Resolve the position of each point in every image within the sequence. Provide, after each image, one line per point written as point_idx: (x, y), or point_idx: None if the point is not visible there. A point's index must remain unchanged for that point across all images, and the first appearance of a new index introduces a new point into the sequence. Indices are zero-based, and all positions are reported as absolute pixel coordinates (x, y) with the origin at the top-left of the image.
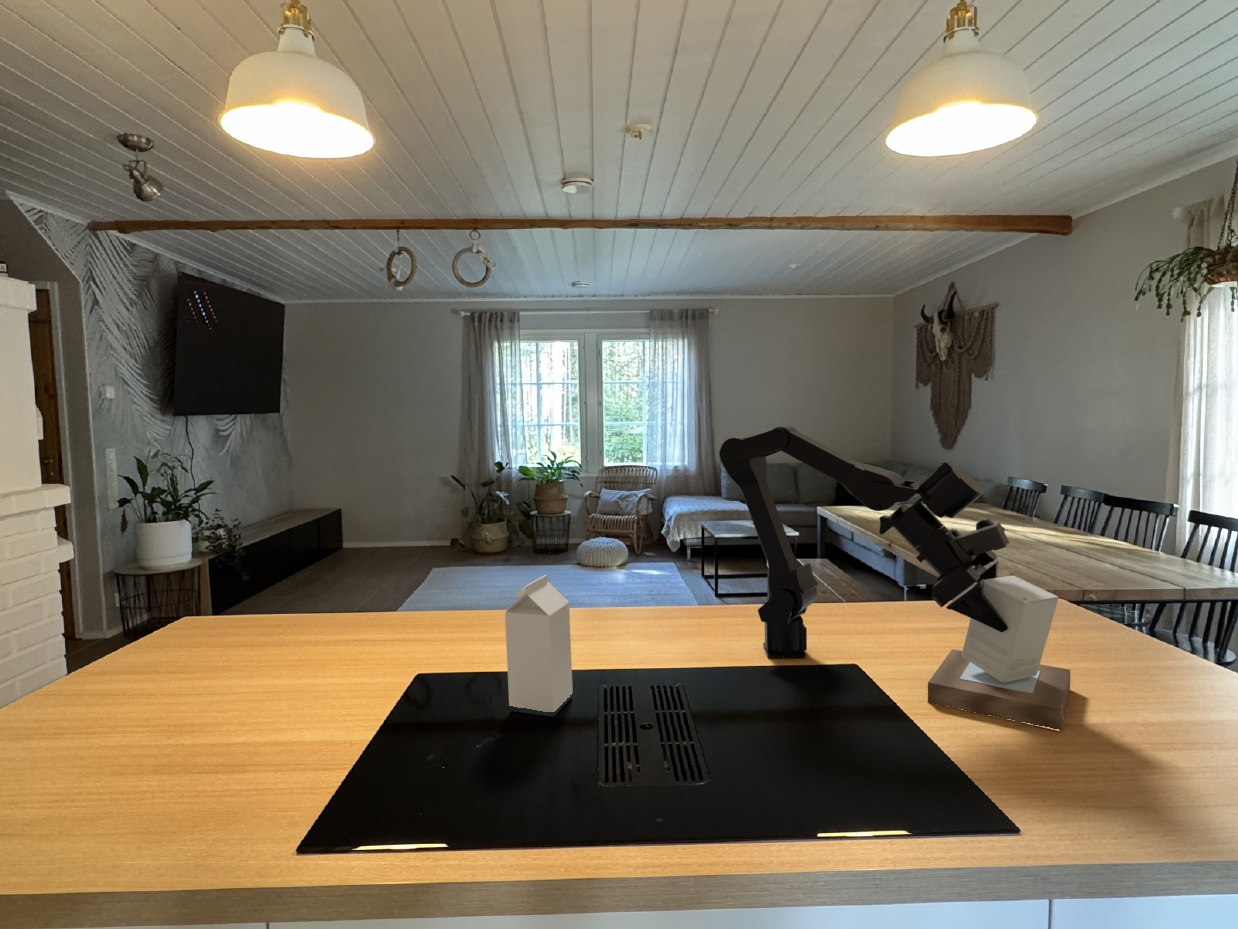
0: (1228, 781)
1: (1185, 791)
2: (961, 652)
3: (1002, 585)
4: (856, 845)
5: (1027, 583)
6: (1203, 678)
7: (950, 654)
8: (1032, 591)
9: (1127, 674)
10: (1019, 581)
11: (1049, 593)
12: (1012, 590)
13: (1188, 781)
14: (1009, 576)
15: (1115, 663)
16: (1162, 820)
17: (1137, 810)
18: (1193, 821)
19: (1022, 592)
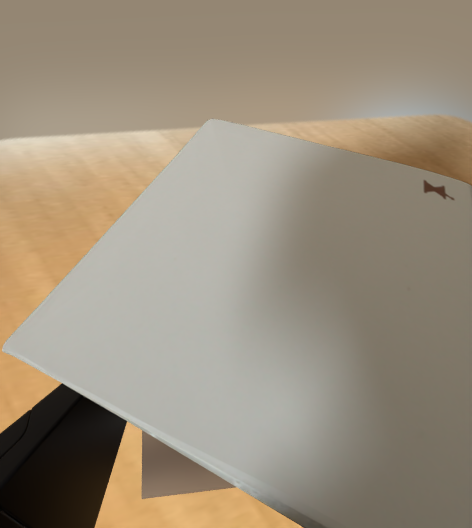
0: (316, 121)
1: (368, 141)
2: (153, 467)
3: (402, 344)
4: None
5: (147, 225)
6: (27, 155)
7: (183, 487)
8: (277, 183)
9: (51, 220)
10: (154, 269)
11: (209, 138)
12: (406, 261)
13: (344, 141)
14: (67, 369)
15: (6, 239)
16: (443, 148)
17: (445, 163)
18: (422, 132)
19: (361, 213)
